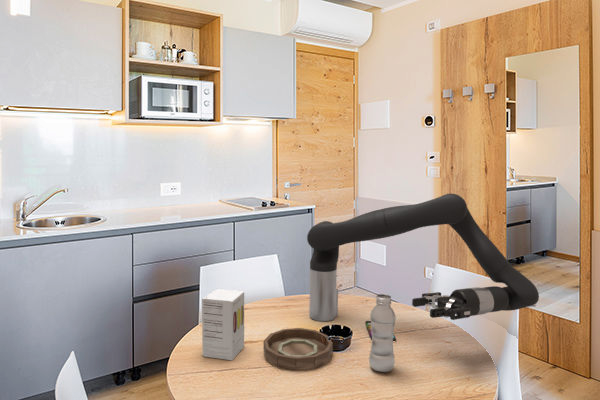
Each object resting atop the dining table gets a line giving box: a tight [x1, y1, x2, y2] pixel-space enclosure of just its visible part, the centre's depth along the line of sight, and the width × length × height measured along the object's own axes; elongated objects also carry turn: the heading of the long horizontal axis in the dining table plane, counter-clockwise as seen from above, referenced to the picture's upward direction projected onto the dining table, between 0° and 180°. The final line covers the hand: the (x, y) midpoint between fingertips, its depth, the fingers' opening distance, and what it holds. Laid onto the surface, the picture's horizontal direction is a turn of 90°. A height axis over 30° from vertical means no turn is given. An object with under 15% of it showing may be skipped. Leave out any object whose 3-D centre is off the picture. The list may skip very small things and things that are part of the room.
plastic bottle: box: [368, 293, 397, 373], centre depth 113 cm, size 6×7×20 cm
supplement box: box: [201, 288, 245, 361], centre depth 122 cm, size 10×9×17 cm
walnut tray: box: [263, 327, 334, 372], centre depth 122 cm, size 19×19×4 cm
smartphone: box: [365, 320, 397, 341], centre depth 138 cm, size 8×1×15 cm
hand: (421, 308), depth 115 cm, fingers open, 8 cm apart
